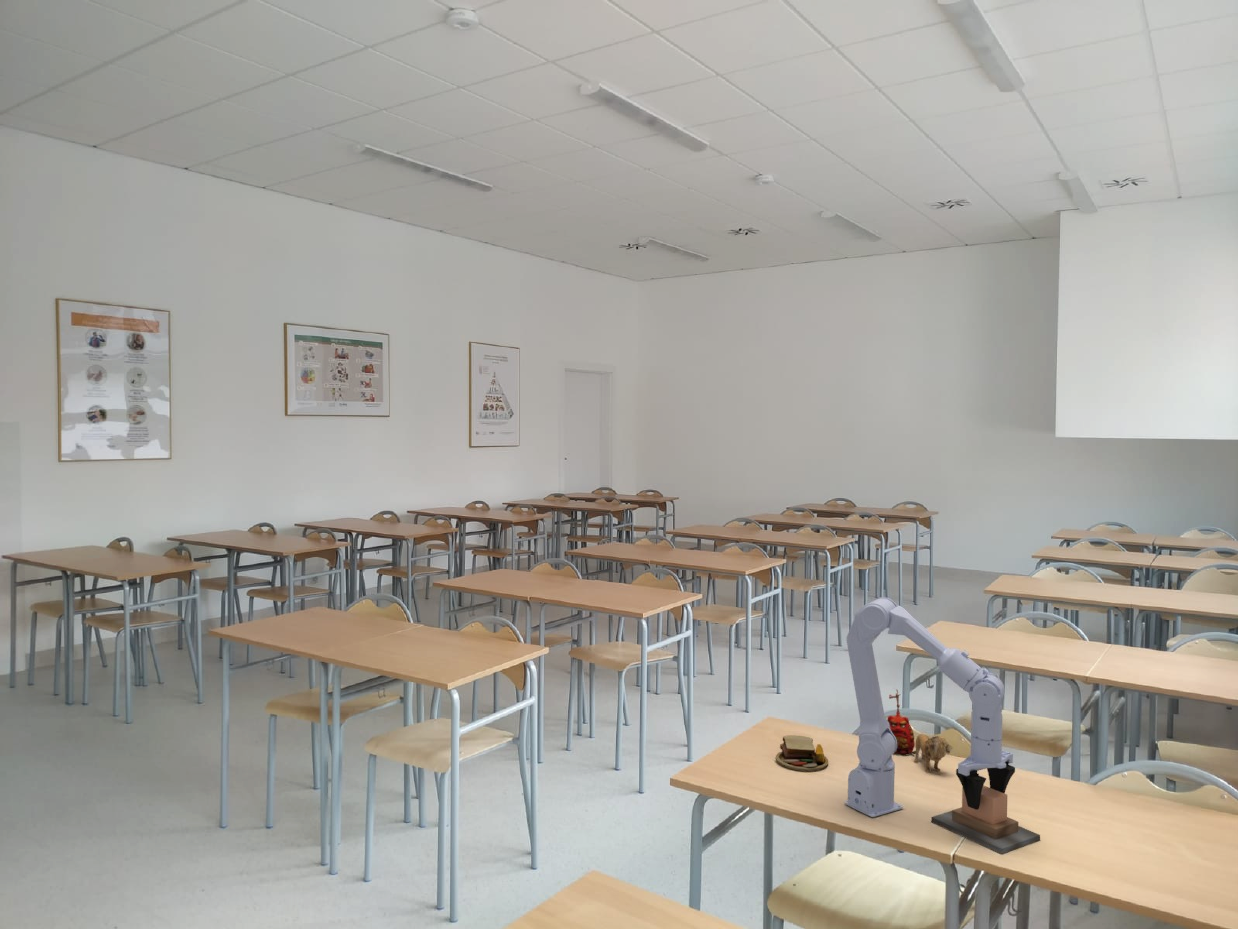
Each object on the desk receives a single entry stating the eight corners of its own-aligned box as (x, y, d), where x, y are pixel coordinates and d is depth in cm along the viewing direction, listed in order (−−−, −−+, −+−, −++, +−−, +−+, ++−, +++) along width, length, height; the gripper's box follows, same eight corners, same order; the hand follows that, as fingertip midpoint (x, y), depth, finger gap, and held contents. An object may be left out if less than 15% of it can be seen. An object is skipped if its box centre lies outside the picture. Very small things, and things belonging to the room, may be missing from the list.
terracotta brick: (992, 824, 166) (993, 799, 166) (961, 811, 172) (962, 786, 172) (1006, 820, 168) (1007, 794, 168) (976, 806, 174) (976, 782, 174)
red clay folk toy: (883, 754, 212) (884, 695, 212) (881, 745, 219) (882, 687, 219) (915, 757, 211) (916, 697, 210) (912, 748, 218) (913, 689, 217)
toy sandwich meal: (775, 771, 201) (775, 751, 201) (776, 751, 214) (776, 732, 214) (829, 775, 199) (830, 755, 199) (826, 755, 212) (827, 736, 212)
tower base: (1001, 854, 160) (1001, 838, 160) (931, 822, 174) (931, 807, 174) (1040, 840, 166) (1040, 825, 166) (969, 810, 180) (969, 795, 180)
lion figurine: (954, 777, 198) (955, 738, 198) (934, 778, 197) (934, 740, 197) (920, 754, 213) (921, 719, 213) (901, 756, 212) (902, 720, 212)
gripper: (980, 748, 162) (979, 819, 163) (1027, 736, 170) (1025, 804, 170) (949, 737, 168) (948, 805, 169) (995, 726, 176) (994, 791, 176)
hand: (985, 804), depth 170 cm, fingers open, 7 cm apart
